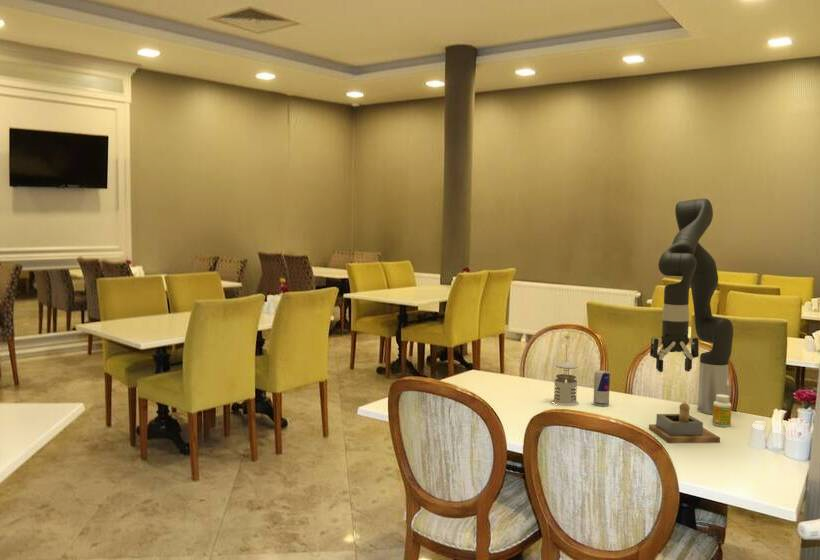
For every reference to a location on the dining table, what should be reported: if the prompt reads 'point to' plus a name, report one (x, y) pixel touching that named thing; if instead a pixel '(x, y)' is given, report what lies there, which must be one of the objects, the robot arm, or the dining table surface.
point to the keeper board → (683, 417)
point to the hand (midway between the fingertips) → (673, 371)
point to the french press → (565, 384)
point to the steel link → (679, 425)
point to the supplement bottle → (722, 411)
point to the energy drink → (601, 388)
